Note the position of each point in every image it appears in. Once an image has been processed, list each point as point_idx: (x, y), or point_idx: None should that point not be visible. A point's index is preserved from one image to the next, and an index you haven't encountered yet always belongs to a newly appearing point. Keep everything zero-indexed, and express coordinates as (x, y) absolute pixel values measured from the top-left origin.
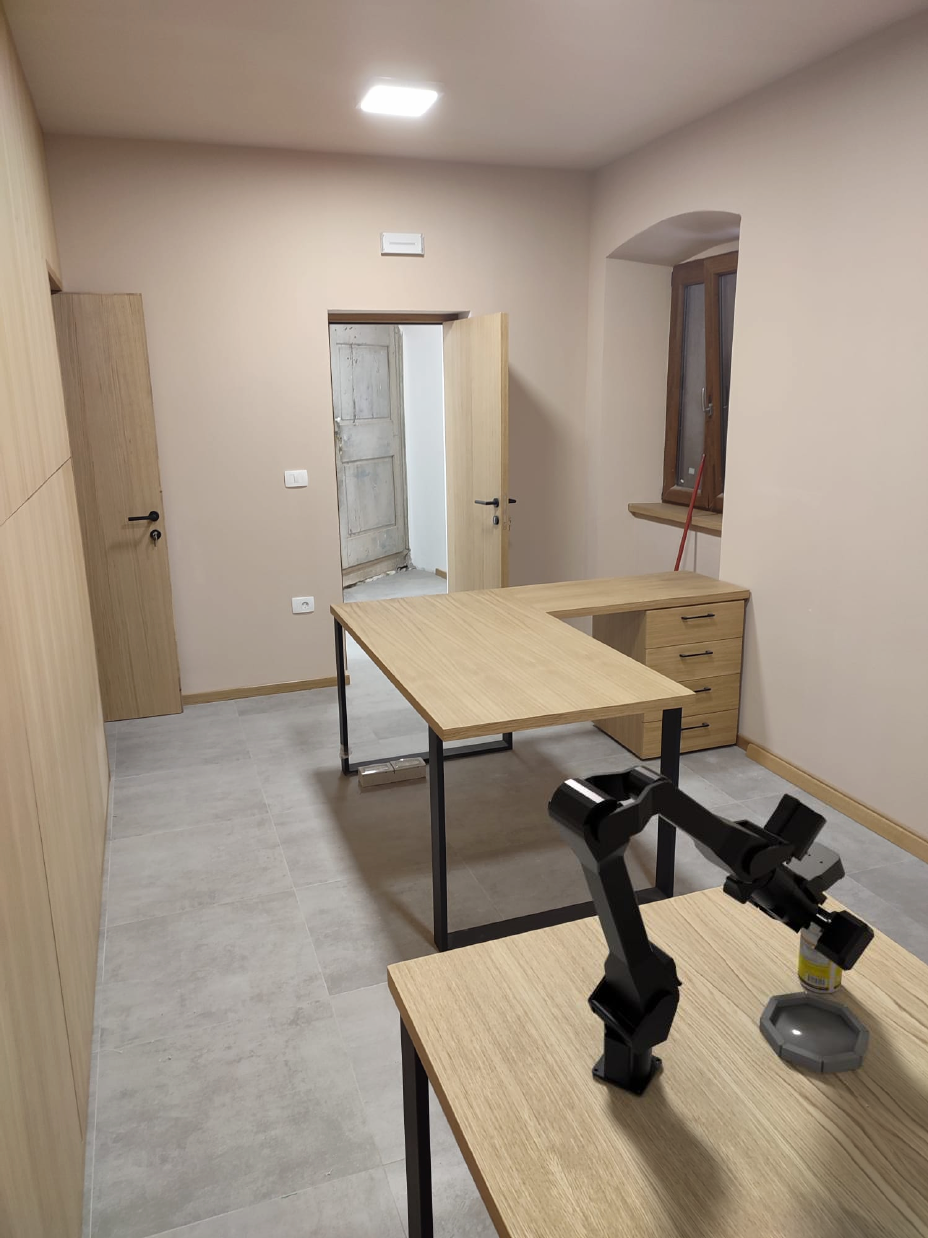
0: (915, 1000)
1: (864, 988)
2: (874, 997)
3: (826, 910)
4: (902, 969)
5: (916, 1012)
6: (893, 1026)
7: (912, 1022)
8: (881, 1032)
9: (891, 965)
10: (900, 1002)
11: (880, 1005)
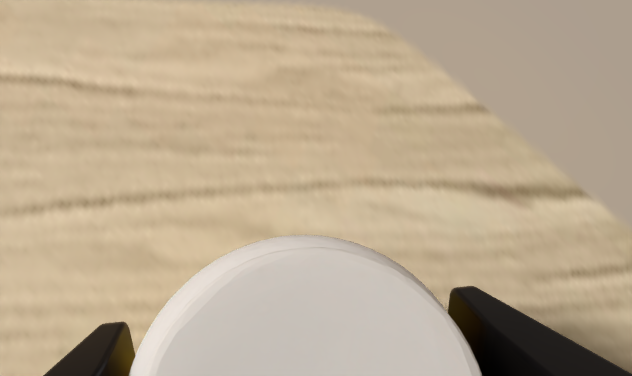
0: (491, 122)
1: (387, 236)
2: (442, 240)
3: (231, 308)
4: (342, 42)
5: (546, 165)
6: (598, 295)
7: (589, 216)
8: (622, 366)
9: (311, 57)
10: (489, 175)
11: (487, 253)
